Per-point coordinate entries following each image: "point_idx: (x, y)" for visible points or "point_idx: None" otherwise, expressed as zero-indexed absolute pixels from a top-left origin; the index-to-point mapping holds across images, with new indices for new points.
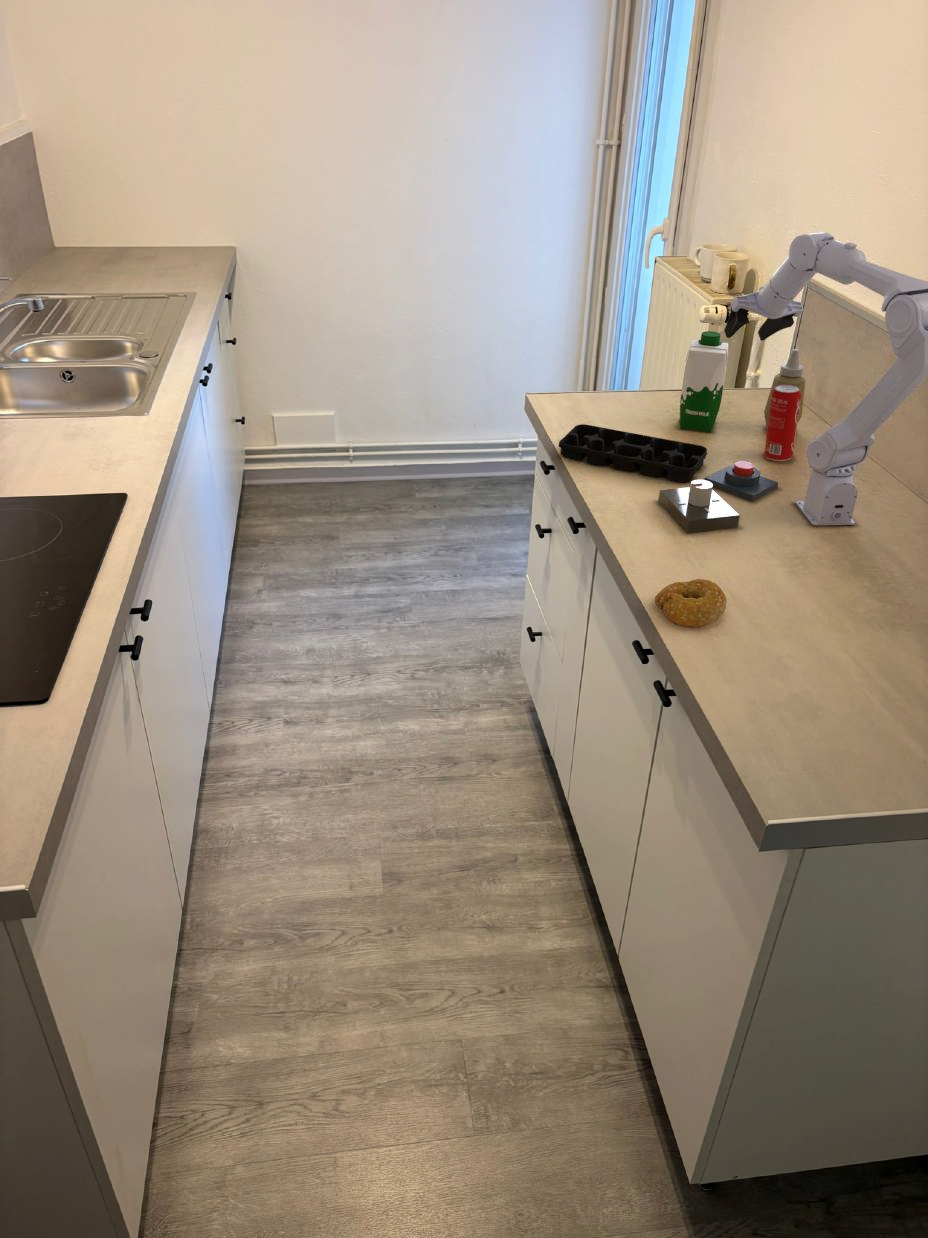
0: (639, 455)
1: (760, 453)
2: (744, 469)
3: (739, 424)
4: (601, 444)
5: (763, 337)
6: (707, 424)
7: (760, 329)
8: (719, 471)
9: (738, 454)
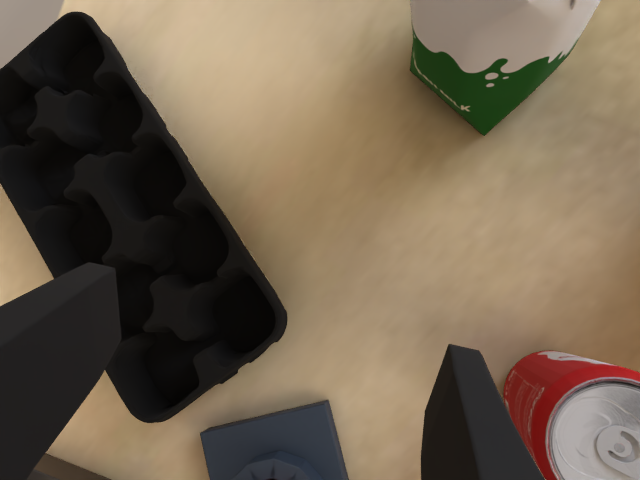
0: None
1: (518, 342)
2: None
3: (634, 111)
4: (65, 142)
5: (422, 453)
6: (469, 120)
7: (446, 381)
8: (263, 422)
9: (444, 314)
